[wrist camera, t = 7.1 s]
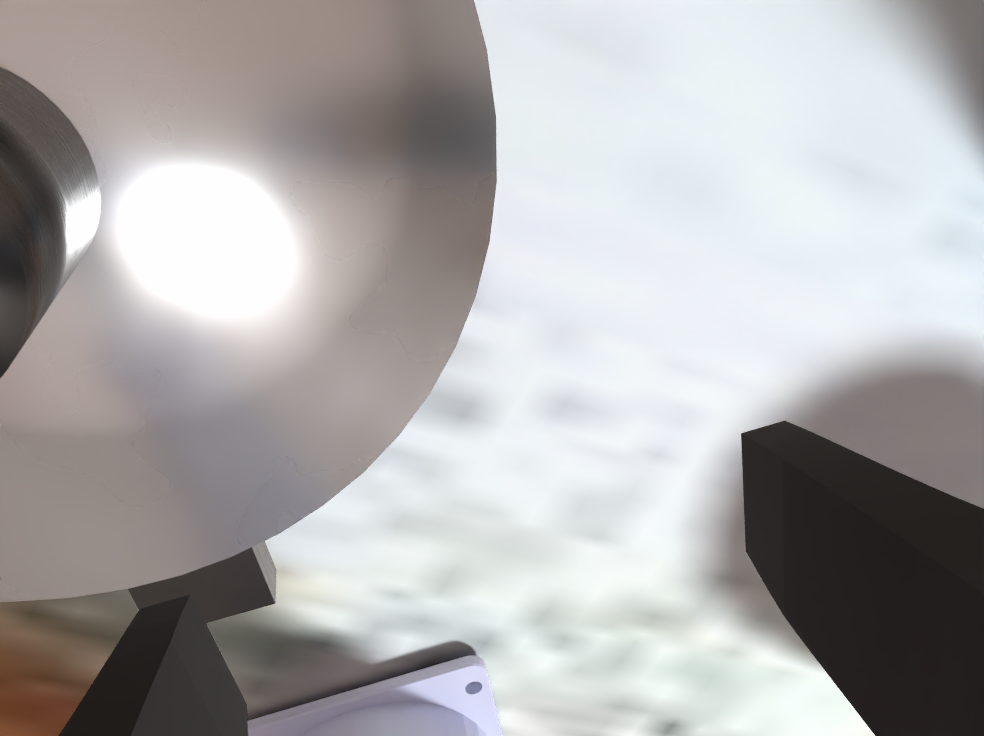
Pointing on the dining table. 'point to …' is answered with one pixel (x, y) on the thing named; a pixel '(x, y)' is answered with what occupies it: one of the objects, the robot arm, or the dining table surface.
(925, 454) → the dining table surface
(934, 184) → the dining table surface
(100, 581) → the lid
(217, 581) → the cooking pot
